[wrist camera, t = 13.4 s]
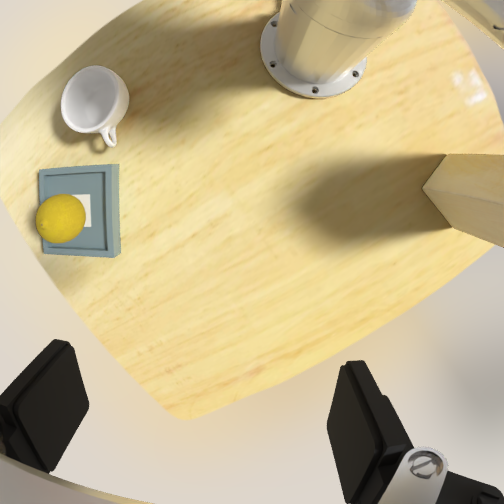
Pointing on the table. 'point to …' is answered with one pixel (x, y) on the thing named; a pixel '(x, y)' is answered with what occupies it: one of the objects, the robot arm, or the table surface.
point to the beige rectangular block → (470, 194)
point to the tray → (87, 208)
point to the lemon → (60, 218)
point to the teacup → (95, 102)
